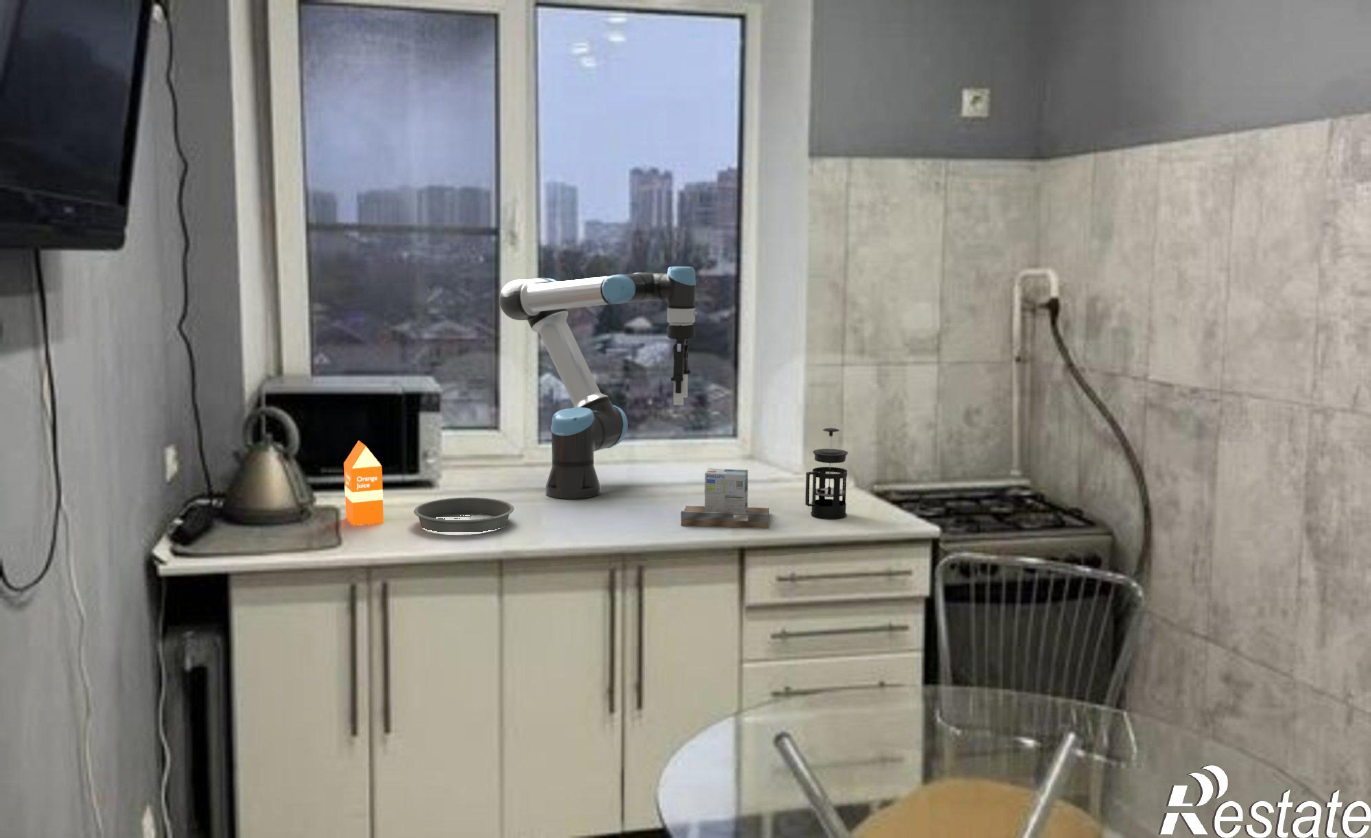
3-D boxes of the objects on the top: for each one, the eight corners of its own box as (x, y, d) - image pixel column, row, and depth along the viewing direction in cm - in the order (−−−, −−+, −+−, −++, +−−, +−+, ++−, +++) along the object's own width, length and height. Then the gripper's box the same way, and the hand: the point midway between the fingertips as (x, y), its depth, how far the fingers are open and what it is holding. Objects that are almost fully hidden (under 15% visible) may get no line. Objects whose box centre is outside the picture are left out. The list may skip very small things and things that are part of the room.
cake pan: (471, 543, 281) (471, 525, 280) (393, 529, 292) (392, 511, 292) (533, 521, 302) (533, 504, 301) (458, 509, 314) (458, 492, 313)
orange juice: (353, 526, 294) (349, 447, 291) (345, 518, 302) (342, 441, 299) (384, 522, 298) (381, 444, 295) (376, 514, 306) (373, 438, 302)
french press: (839, 509, 316) (841, 424, 312) (855, 517, 307) (858, 430, 303) (798, 512, 312) (800, 426, 308) (813, 521, 303) (816, 432, 300)
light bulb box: (748, 509, 309) (748, 468, 307) (745, 515, 302) (746, 474, 301) (707, 507, 311) (708, 467, 309) (703, 513, 304) (704, 472, 302)
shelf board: (680, 525, 297) (680, 512, 297) (685, 511, 312) (685, 498, 312) (768, 528, 296) (768, 514, 295) (769, 513, 311) (769, 500, 310)
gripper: (691, 328, 309) (690, 408, 312) (698, 320, 333) (697, 394, 337) (663, 327, 310) (662, 407, 313) (671, 319, 334) (671, 394, 338)
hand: (680, 401), depth 325 cm, fingers open, 13 cm apart
